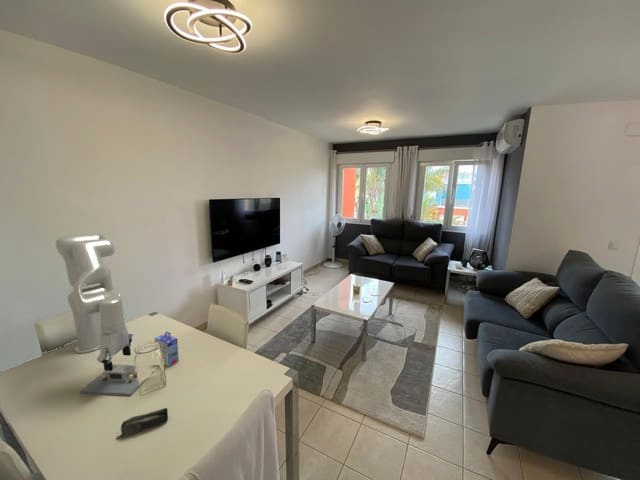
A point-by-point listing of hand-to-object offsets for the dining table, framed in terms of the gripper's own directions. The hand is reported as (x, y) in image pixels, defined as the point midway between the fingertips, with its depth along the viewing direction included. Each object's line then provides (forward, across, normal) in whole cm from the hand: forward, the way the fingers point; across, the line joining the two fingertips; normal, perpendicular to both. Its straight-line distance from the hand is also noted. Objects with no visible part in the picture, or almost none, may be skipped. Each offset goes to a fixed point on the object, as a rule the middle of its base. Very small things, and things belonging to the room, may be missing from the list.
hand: (118, 362), depth 112 cm
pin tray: (+8, 0, +1) cm, 9 cm away
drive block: (+7, 0, +1) cm, 7 cm away
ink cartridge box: (+9, -14, +13) cm, 21 cm away
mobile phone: (+8, +22, +26) cm, 35 cm away
